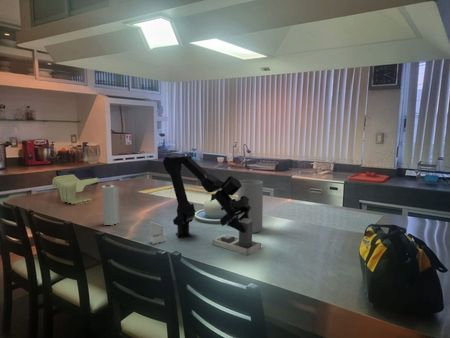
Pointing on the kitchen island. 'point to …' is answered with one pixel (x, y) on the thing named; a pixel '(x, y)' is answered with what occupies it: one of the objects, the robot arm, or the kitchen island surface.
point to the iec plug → (246, 233)
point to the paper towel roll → (110, 204)
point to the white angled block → (156, 233)
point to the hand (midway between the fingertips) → (248, 230)
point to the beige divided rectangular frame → (235, 244)
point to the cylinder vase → (253, 201)
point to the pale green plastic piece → (71, 187)
